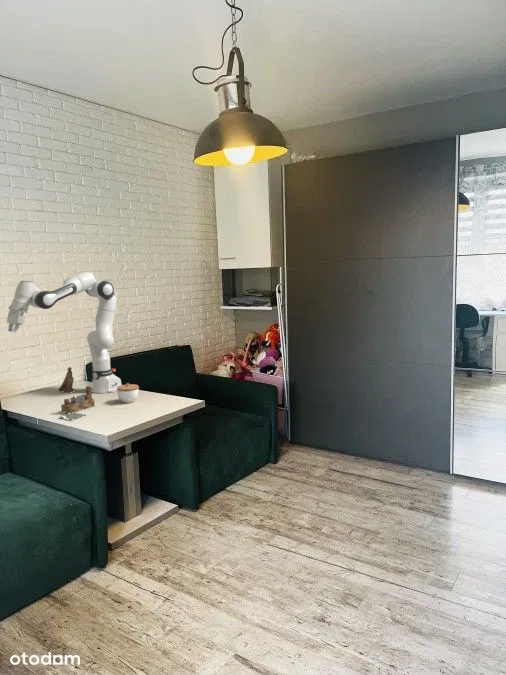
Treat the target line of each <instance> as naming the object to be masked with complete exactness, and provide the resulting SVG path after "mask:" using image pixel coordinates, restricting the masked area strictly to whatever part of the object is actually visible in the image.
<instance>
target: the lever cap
mask: <svg viewBox="0 0 506 675" xmlns="http://www.w3.org/2000/svg"><path fill="white" fill-rule="evenodd" d="M69 399H70V402H71V403H75V404H76V403H79V402H82V401H85V396H83V394H80V395H73V397H70V398H69Z"/></svg>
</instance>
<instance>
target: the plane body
mask: <svg viewBox="0 0 506 675" xmlns="http://www.w3.org/2000/svg"><path fill="white" fill-rule="evenodd" d="M91 390H92V386H91V385H88V386H85V393H84V394H82V395H83V396H85V401H82V402H79V403H76V404H75V403H71V399H70V398H65V399H64V400H63V402H64V403H62V404H60V406H61V407H60V408H61V413H62V412H65V413H64V414H66V413H72V412H75V411H78V410H81V411H83V410H82V409H84V410H87V409H90V408H89V407H91V408H94V407H95V398H92V396H93V395H92V392H91ZM93 406H94V407H93ZM86 408H87V409H86ZM78 412H79V411H78ZM75 413H76V412H75Z"/></svg>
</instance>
